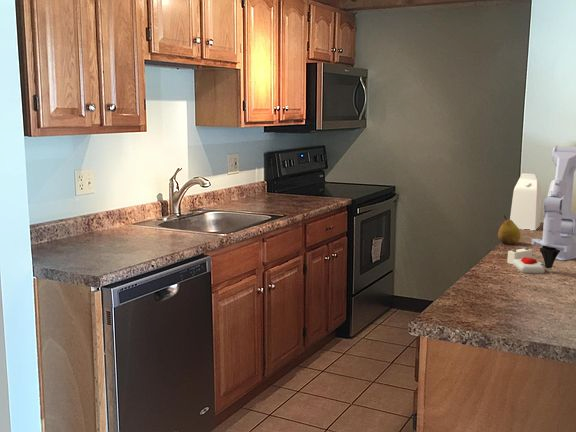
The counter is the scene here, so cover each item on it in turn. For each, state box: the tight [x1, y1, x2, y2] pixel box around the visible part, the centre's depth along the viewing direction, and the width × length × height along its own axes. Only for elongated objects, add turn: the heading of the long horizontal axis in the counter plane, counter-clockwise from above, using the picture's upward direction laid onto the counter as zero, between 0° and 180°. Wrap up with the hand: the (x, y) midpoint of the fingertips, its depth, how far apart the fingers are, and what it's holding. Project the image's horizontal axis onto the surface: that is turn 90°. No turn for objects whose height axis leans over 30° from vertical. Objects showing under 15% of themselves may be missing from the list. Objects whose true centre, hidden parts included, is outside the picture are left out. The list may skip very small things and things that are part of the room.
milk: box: [509, 172, 542, 231], centre depth 307 cm, size 12×12×26 cm
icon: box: [512, 257, 546, 274], centre depth 232 cm, size 12×4×10 cm
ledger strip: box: [506, 246, 533, 265], centre depth 242 cm, size 10×3×5 cm, turn 121°
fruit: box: [497, 215, 521, 245], centre depth 273 cm, size 9×9×12 cm
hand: (548, 267), depth 229 cm, fingers closed
